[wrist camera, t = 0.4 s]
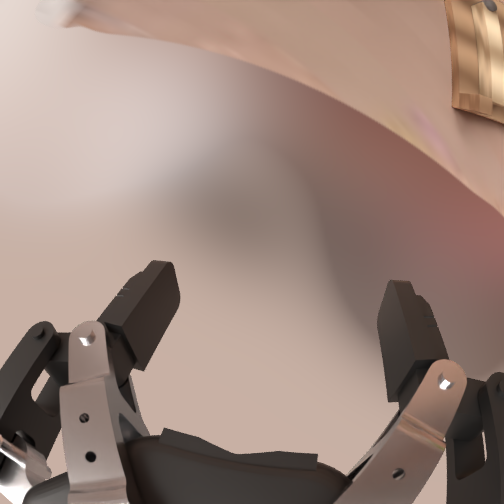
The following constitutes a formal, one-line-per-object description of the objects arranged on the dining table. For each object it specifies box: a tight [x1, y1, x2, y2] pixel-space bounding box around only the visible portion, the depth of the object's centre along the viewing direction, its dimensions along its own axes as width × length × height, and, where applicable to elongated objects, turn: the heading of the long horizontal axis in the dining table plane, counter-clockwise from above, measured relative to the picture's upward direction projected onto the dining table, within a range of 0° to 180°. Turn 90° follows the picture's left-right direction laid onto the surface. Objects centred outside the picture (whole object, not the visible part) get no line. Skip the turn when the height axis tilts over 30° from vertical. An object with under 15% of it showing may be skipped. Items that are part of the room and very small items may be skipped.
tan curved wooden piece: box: [471, 0, 504, 107], centre depth 16 cm, size 15×2×4 cm, turn 2°
